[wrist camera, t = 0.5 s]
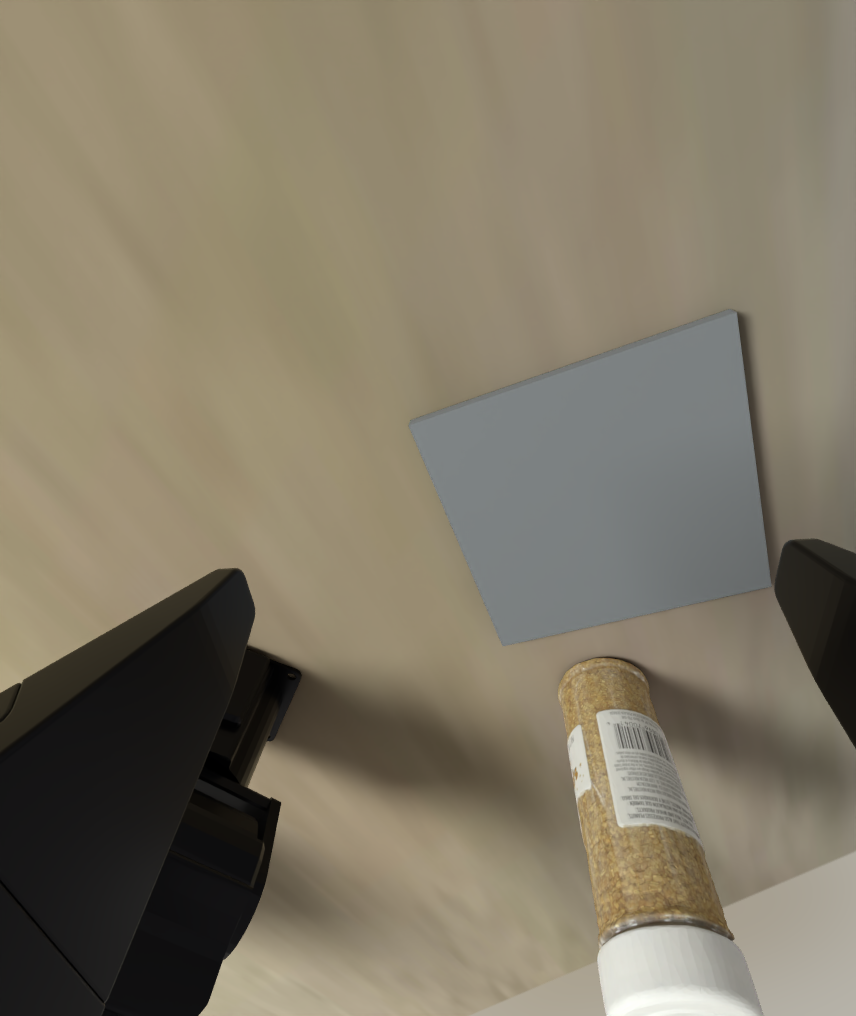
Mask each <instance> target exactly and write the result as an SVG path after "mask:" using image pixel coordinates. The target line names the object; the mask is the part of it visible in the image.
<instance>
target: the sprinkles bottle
mask: <svg viewBox="0 0 856 1016" xmlns="http://www.w3.org/2000/svg"><path fill="white" fill-rule="evenodd" d="M649 693H650V692H649V684H648V682H647V679H646V677H645V676H644V674H643V673H642V672H641V671H640V670H639V669H638V668H636V667H635V666H634V665H632V664H630V663H627V662H624V661H622V660H618V659H611V658H595V659H591V660H588V661H584V662H581V663H579V664H576V665H574V666H573V667H572V668H571V669H570V670H568V671H567V672H566V674H565V675H564V677H563V679H562V680H561V682H560V684H559V688H558V698H559V702H560V705H561V707H562V709H563V714H564V720H565V726H566V731H567V738H568V753H569V759H570V765H571V771H572V777H573V783H574V789H575V796H576V802H577V808H578V814H579V820H580V826H581V832H582V837H583V841H584V845H585V848H586V851H587V858H588V865H589V872H590V878H591V884H592V891H593V897H594V904H595V910H596V914H597V923H598V927H599V931H600V934H599V936H598V941H599V948H600V951H599V953H598V959H597V962H598V969H599V976H600V982H601V988H602V994H603V999H604V1006H605V1011H606V1016H763V1012H762V1009H761V1005H760V1002H759V999H758V996H757V993H756V990H755V987H754V984H753V981H752V978H751V975H750V972H749V969H748V966H747V963H746V961H745V957H744V955H743V953H742V951H741V950H740V949H739V947H738V946H737V945H736V944H734V942H733V940H734V935H733V934H732V933H731V932H730V930H729V929H728V927H727V923H726V920H725V918H724V913H723V909H722V907H721V904H720V901H719V898H718V895H717V893H716V890H715V886H714V882H713V880H712V878H711V874H710V871H709V869H708V865H707V863H706V860H705V851H704V848H703V845H702V842H701V839H700V836H699V833H698V830H697V827H696V824H695V821H694V818H693V816H692V813H691V810H690V807H689V804H688V801H687V798H686V795H685V792H684V789H683V786H682V783H681V780H680V777H679V774H678V772H677V769H676V766H675V763H674V760H673V757H672V754H671V752H670V749H669V746H668V743H667V740H666V737H665V735H664V732H663V730H662V729H661V727H660V725H659V722H658V720H657V717H656V713H655V711H654V707H653V704H652V702H651V699H650V696H649Z"/></svg>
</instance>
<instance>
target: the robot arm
mask: <svg viewBox="0 0 856 1016" xmlns="http://www.w3.org/2000/svg"><path fill="white" fill-rule="evenodd" d="M775 594H776V598H777V600H778V602H779V605H780V607H781V609H782V611H783V613H784V616H785V618H786V620H787V622H788V624H789V626H790V629H791V631H792V633H793V635H794V637H795V639H796V642H797V644H798V646H799V648H800V650H801V653H802V655H803V657H804V659H805V661H806V663H807V666H808V668H809V670H810V672H811V674H812V676H813V678H814V680H815V682H816V683H817V685H818V687H819V689H820V690H821V692H822V694H823V696H824V697H825V699H826V701H827V702H828V704H829V705H830V707H831V709H832V710H833V712H834V714H835V715H836V717H837V719H838V720H839V722H840V724H841V725H842V727H843V729H844V730H845V732H846V734H847V735H848V737H849V738H850V740H851V742H852V743H853V745H854V747H855V748H856V553H853V552H851V551H848V550H845V549H843V548H840V547H838V546H835V545H832V544H830V543H827V542H824V541H822V540H819V539H796V540H789V541H788V542H786V543H785V545H784V546H783V549H782V552H781V557H780V561H779V566H778V570H777V575H776V579H775ZM254 618H255V606H254V602H253V599H252V596H251V593H250V590H249V587H248V584H247V581H246V578H245V575H244V573H243V572H242V570H240V569H238V568H228V569H217V570H215V571H213V572H211V573H210V574H208V575H206V576H204V577H203V578H201V579H199V580H197V581H196V582H194V583H192V584H190V585H189V586H187V587H185V588H183V589H182V590H180V591H178V592H176V593H175V594H173V595H171V596H169V597H168V598H166V599H164V600H162V601H161V602H159V603H157V604H155V605H154V606H152V607H150V608H148V609H147V610H145V611H143V612H141V613H140V614H138V615H136V616H134V617H133V618H131V619H129V620H127V621H126V622H124V623H122V624H120V625H119V626H117V627H115V628H113V629H112V630H110V631H108V632H106V633H105V634H103V635H101V636H99V637H98V638H96V639H94V640H92V641H91V642H89V643H87V644H85V645H84V646H82V647H80V648H78V649H77V650H75V651H73V652H71V653H70V654H68V655H66V656H64V657H63V658H61V659H59V660H57V661H56V662H54V663H52V664H50V665H49V666H47V667H45V668H43V669H42V670H40V671H38V672H36V673H35V674H33V675H31V676H29V677H28V678H26V679H24V680H23V682H22V684H21V683H17V684H15V685H13V686H12V687H10V688H8V689H6V690H5V691H3V692H1V693H0V1016H198V1015H199V1014H200V1013H201V1012H202V1011H203V1009H204V1008H205V1007H206V1005H207V1004H208V1002H209V999H210V996H211V993H212V990H213V987H214V985H215V982H216V979H217V976H218V973H219V970H220V967H221V964H222V961H223V960H224V959H226V958H227V957H228V956H229V955H230V954H231V952H232V951H233V950H234V948H235V947H236V946H237V944H238V943H239V941H240V939H241V938H242V936H243V935H244V933H245V931H246V929H247V927H248V925H249V923H250V921H251V919H252V917H253V915H254V913H255V910H256V908H257V905H258V903H259V900H260V898H261V895H262V892H263V889H264V886H265V882H266V878H267V873H268V868H269V863H270V858H271V853H272V848H273V843H274V837H275V832H276V827H277V822H278V817H279V812H280V806H281V802H280V801H278V800H276V799H274V798H272V797H271V798H270V799H269V798H267V797H265V796H263V795H261V794H259V793H257V792H255V791H253V790H251V789H249V788H248V785H249V783H250V780H251V778H252V775H253V773H254V771H255V768H256V766H257V763H258V761H259V758H260V756H261V753H262V751H263V749H264V746H265V744H266V741H272V740H273V739H274V738H275V736H276V733H277V731H278V729H279V727H280V724H281V722H282V720H283V718H284V716H285V713H286V711H287V709H288V707H289V704H290V702H291V700H292V698H293V695H294V693H295V691H296V689H297V687H298V684H299V682H300V680H301V677H302V675H301V672H300V671H299V670H297V669H295V668H293V667H290V666H287V665H285V664H282V663H279V662H277V661H274V660H271V659H269V658H267V657H265V656H263V655H260V654H257V653H255V652H252V651H249V650H247V649H246V646H247V643H248V639H249V636H250V632H251V629H252V625H253V622H254ZM290 673H291V674H294V675H295V676H296V677H295V678H292V677H290V676H289V675H288V674H290ZM269 735H270V736H269Z"/></svg>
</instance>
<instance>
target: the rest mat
mask: <svg viewBox="0 0 856 1016" xmlns="http://www.w3.org/2000/svg"><path fill="white" fill-rule="evenodd" d="M409 428H410V430H411V433H412V435H413V437H414V440H415V442H416V444H417V447H418V449H419V451H420V454H421V456H422V458H423V461H424V463H425V465H426V468H427V470H428V472H429V475H430V477H431V480H432V482H433V484H434V487H435V489H436V491H437V494H438V496H439V498H440V501H441V503H442V505H443V508H444V510H445V512H446V515H447V517H448V519H449V522H450V524H451V526H452V529H453V531H454V533H455V536H456V538H457V540H458V543H459V545H460V547H461V550H462V552H463V554H464V557H465V559H466V561H467V564H468V566H469V568H470V571H471V573H472V576H473V578H474V580H475V583H476V585H477V587H478V590H479V592H480V594H481V597H482V599H483V601H484V604H485V606H486V608H487V611H488V613H489V615H490V618H491V620H492V622H493V625H494V627H495V629H496V632H497V634H498V636H499V639H500V641H501V643H502V646H506V645H511V644H515V643H520V642H524V641H529V640H533V639H538V638H542V637H547V636H551V635H556V634H560V633H565V632H569V631H574V630H578V629H583V628H587V627H592V626H596V625H601V624H605V623H610V622H614V621H619V620H623V619H628V618H632V617H637V616H641V615H646V614H650V613H655V612H659V611H664V610H668V609H673V608H677V607H682V606H686V605H691V604H695V603H700V602H704V601H709V600H713V599H718V598H722V597H727V596H731V595H736V594H740V593H745V592H749V591H754V590H758V589H763V588H767V587H772V586H771V578H770V571H769V563H768V555H767V547H766V539H765V531H764V523H763V515H762V508H761V500H760V492H759V484H758V476H757V468H756V460H755V452H754V445H753V437H752V429H751V421H750V413H749V405H748V397H747V389H746V381H745V374H744V366H743V358H742V350H741V342H740V334H739V326H738V318H737V312H736V311H733V310H731V309H728V310H725V311H723V312H720V313H717V314H714V315H711V316H708V317H705V318H702V319H700V320H697V321H694V322H691V323H688V324H685V325H682V326H680V327H677V328H674V329H671V330H668V331H665V332H662V333H659V334H657V335H654V336H651V337H648V338H645V339H642V340H639V341H637V342H634V343H631V344H628V345H625V346H622V347H619V348H616V349H614V350H611V351H608V352H605V353H602V354H599V355H596V356H593V357H591V358H588V359H585V360H582V361H579V362H576V363H573V364H571V365H568V366H565V367H562V368H559V369H556V370H553V371H550V372H548V373H545V374H542V375H539V376H536V377H533V378H530V379H528V380H525V381H522V382H519V383H516V384H513V385H510V386H507V387H505V388H502V389H499V390H496V391H493V392H490V393H487V394H484V395H482V396H479V397H476V398H473V399H470V400H467V401H464V402H462V403H459V404H456V405H453V406H450V407H447V408H444V409H441V410H439V411H436V412H433V413H430V414H427V415H424V416H421V417H419V418H416V419H413V420H410V423H409Z"/></svg>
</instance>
